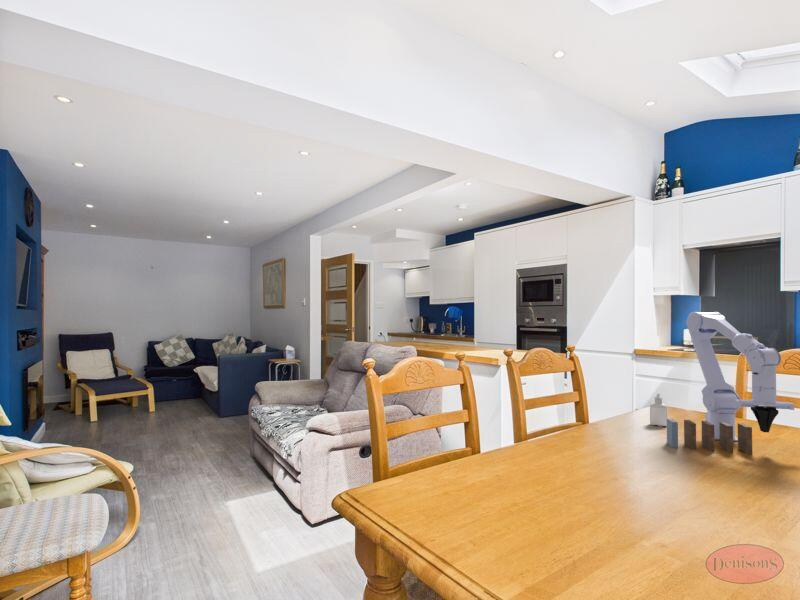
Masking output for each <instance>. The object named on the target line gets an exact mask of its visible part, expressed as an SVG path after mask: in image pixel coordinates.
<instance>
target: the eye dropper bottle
mask: <svg viewBox="0 0 800 600" xmlns="http://www.w3.org/2000/svg"><path fill="white" fill-rule="evenodd" d="M667 419H668V406H667V405H666V404H664V403H663V397H661V396H660V393H656V396H654V402H652V403H650V404H649V424H650V425H651V426H654V425H658V426H657V427H662V426H666V427H667Z"/></svg>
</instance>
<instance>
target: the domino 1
mask: <svg viewBox="0 0 800 600" xmlns="http://www.w3.org/2000/svg"><path fill="white" fill-rule="evenodd" d="M667 443H668V444H667ZM666 444H667V445H668V446H670V445H671V446H672V447H677V448H676V449H679V422H678V421H676V420H674V418H667V426H666ZM671 446H670V447H671ZM672 447H671V448H672Z"/></svg>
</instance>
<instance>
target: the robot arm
mask: <svg viewBox="0 0 800 600" xmlns="http://www.w3.org/2000/svg"><path fill="white" fill-rule="evenodd" d="M685 323H686V326H687V330H688V333H689V335H690V340H691V343H692V345H693V349H694V351H695V354H696V357H697V359H698V363H699V365H700V368H701V371H702V375H703V378H704V380H705V383H706V385H705V386H704V387H703V388H702V389H701V393H702V403H703V405H704V407H705V408H706V410H707V411H706V412H705V416H704V421H708V422H710V423H712V424H713V425H714V440H719V441H720V433H719V422H726V423H728V424H730V425H732V426H733V442H735V441H736V442H738V436H736V413H738V411H739V409H740V408H750V410H751V411H752V413H753V414H754V416H755V419H756V422H757V423H758V427H759V430H760V431H761V432H762V433H769V434H770V430H771V427H772V424H773V422H774V420H775V418H776V417H778V415H779V410H778V409H780V410H791V411H795V403H793V402H788V401H779V400H777V367H778V366H779V365H780V364H781V361H782V355H781V354H780V352H779V351H778V350H777V349H776V348H774V347H767V346H765V344H764V343H760V342H759V341H758V340H757V339H755V338H754V336H753V335H752V334H751V333H741V332H740V331H739V330H737V329H736V328H735V327H734V326H733V325H732V324H730V323H729V321H727V319H726V316H724V315H723V314H721V313H720V312H718V311H714V312H712V311H711V312H710V311H709V312H706V311H705V312H704V311H702V312H701V311H699V312H698V311H692V312H690V313H689V314H688V316H687V318H686V321H685ZM717 333H719V334H721V335H722V336H724V337H726V338H727V339H728V340H730V341H731V345H732V347H733V348H734V349H736V350H738V352H740V353H741V354H742V355H743V356H745V357H746V361H747V362H746V363H748V364H749V371H750V372H751V397H752V398H751V399H741V397H740V395H739V394H738V393H737V392H736V389H735V387H733V386H732V385H730V384H729V383H727V382H726V380H725V377H724V375H723V372H722V370H721V367H720V364H719V360H718V359H717V355H716V352H715V351H714V348H713V345H712V342H711V339H712V337H715V335H717Z"/></svg>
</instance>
